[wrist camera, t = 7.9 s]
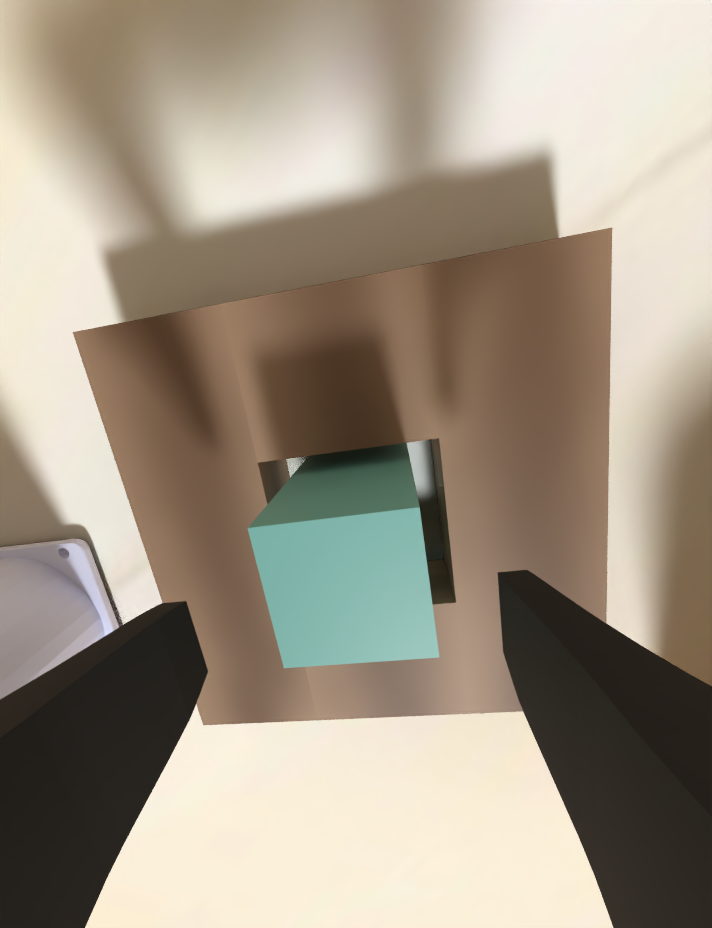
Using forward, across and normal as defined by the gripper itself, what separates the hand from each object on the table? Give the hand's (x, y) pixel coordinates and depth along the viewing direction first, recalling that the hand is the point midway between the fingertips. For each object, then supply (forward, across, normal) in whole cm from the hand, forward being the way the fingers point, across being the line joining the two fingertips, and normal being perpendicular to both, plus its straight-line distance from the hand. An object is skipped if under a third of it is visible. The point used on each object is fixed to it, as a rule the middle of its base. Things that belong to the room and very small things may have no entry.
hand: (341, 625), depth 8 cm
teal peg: (+8, 0, 0) cm, 8 cm away
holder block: (+8, 0, 0) cm, 8 cm away
